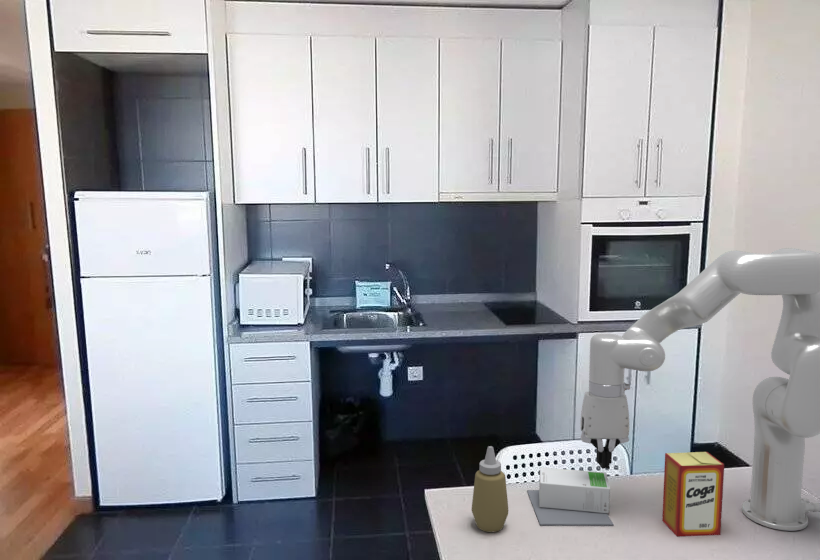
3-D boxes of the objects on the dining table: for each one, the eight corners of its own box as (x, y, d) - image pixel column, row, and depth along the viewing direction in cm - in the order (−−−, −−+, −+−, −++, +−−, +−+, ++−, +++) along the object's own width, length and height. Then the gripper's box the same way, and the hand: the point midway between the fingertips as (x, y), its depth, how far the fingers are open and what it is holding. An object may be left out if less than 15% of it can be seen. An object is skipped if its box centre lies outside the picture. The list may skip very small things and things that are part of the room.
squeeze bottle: (512, 521, 132) (513, 443, 130) (502, 539, 125) (503, 457, 123) (478, 513, 136) (478, 437, 134) (466, 530, 128) (466, 451, 126)
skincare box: (611, 489, 133) (540, 482, 136) (609, 516, 134) (539, 509, 137) (606, 471, 141) (539, 465, 144) (604, 496, 142) (538, 490, 145)
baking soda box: (676, 536, 126) (680, 464, 124) (662, 520, 132) (665, 451, 130) (720, 535, 126) (724, 462, 124) (703, 519, 133) (707, 450, 131)
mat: (592, 491, 146) (592, 489, 146) (613, 525, 130) (613, 524, 130) (527, 491, 146) (527, 489, 146) (540, 525, 130) (540, 524, 130)
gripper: (633, 383, 138) (630, 459, 140) (568, 384, 138) (567, 459, 141) (645, 393, 131) (642, 473, 133) (577, 394, 131) (575, 473, 133)
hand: (603, 466), depth 137 cm, fingers closed
